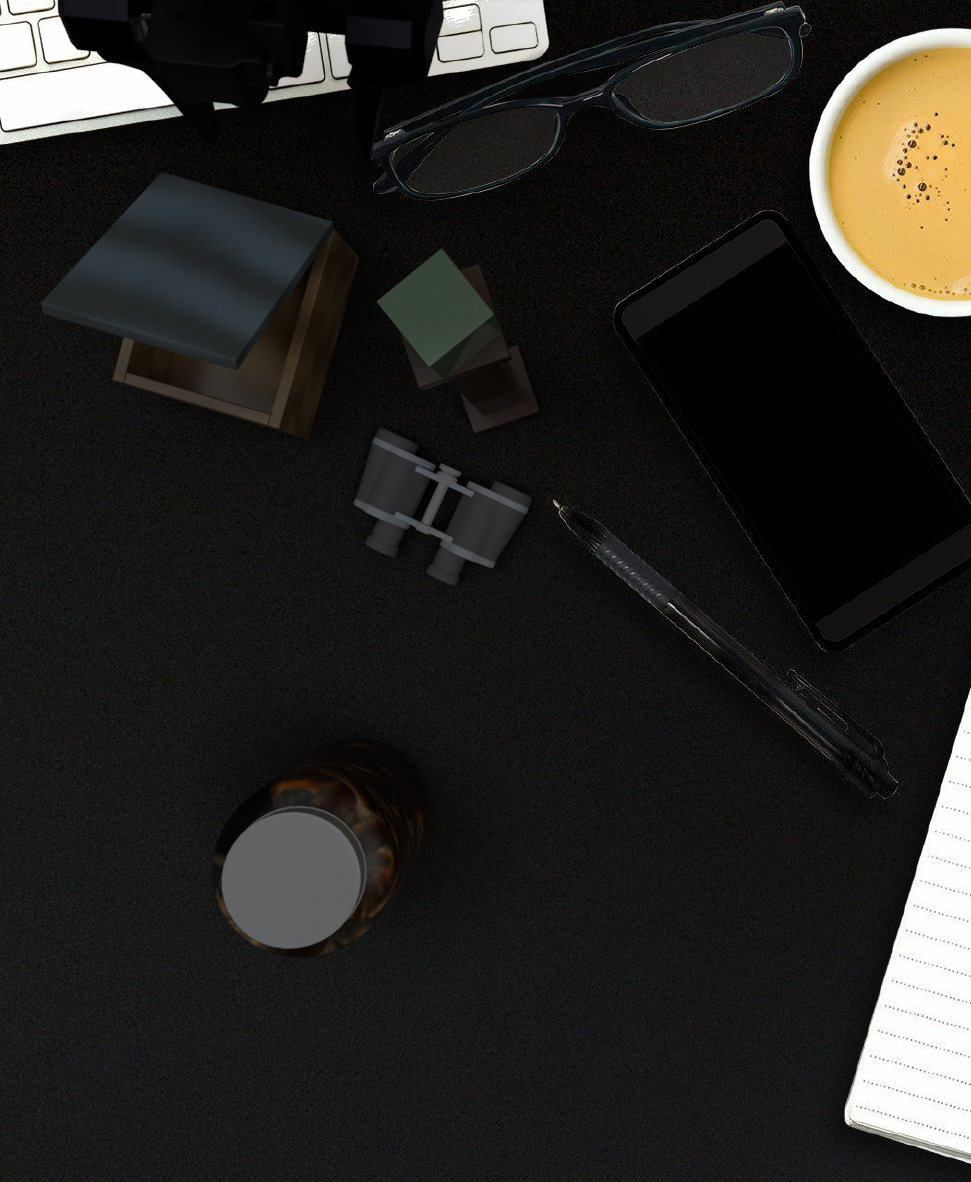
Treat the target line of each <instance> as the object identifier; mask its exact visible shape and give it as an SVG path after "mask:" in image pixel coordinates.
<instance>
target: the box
mask: <svg viewBox="0 0 971 1182" xmlns="http://www.w3.org/2000/svg"><path fill="white" fill-rule="evenodd" d="M359 262H360V256H359V255H358V254H357V253H356V252H355V251H354V250H353V248H351V246H350V245H349V244H348V243H347V242H346V240H345V239H344V238H343V237H342V235H341V234H340V233H339V232H338V231H337V230H336V229H335V228H333V232H332V234H331V235H330V237H329V238H328V240H327V241H326V243H325V244H324V245H323V247H322V248H321V250H320V251H319V253H318V254H317V256H316V257H315V258H314V260H313V261H312V263H311V264H310V266H309V267H308V269H307V270H306V271H305V273H304V274H303V276H302V277H301V279H300V280H299V282H298V283H297V284H296V286H295V287H294V289H293V290H292V292H291V293H290V295H289V296H288V298H287V299H286V300H285V302H284V303H283V305H282V306H281V308H280V309H279V311H278V312H277V313H276V315H275V316H274V318H273V319H272V321H271V322H270V324H269V325H268V326H267V328H266V329H265V331H264V332H263V334H262V335H261V337H260V338H259V339H258V341H257V342H256V344H255V345H254V347H253V348H252V350H251V351H250V352H249V354H248V355H247V357H246V358H245V360H244V361H243V363H242V364H241V365H240V367H239V368H238V370H234V369H230V368H227V367H223V366H220V365H217V364H213V363H210V362H206V361H203V360H200V359H196V358H193V357H189V356H186V355H182V354H179V353H176V352H172V351H169V350H165V349H162V348H159V347H155V346H152V345H148V344H145V343H142V342H138V341H135V340H131V339H128V338H125V337H122V342H121V346H120V349H119V353H118V357H117V360H116V364H115V368H114V371H113V375H112V378H111V379H112V381H113V382H115V383H119V384H122V385H125V386H128V387H131V388H133V389H137V390H139V391H143V392H145V393H148V394H152V395H154V396H157V397H160V398H165V399H168V400H171V401H175V402H178V403H181V404H185V405H187V406H191V407H195V408H198V409H202V410H205V411H207V412H208V411H209V412H212V413H216V414H217V415H222V416H226V417H228V418H232V419H235V420H239V421H242V422H246V423H249V424H252V425H256V426H260V427H263V428H267V429H268V430H269V429H270V430H273V431H277V432H280V433H284V434H287V435H290V436H294V437H297V438H300V439H304V440H309V439H310V436H311V433H312V430H313V426H314V422H315V420H316V419H315V418H316V414H317V411H318V408H319V404H320V401H321V397H322V393H323V390H324V386H325V383H326V379H327V376H328V372H329V368H330V365H331V362H332V359H333V354H334V351H335V347H336V345H337V340H338V336H339V333H340V329H341V326H342V322H343V319H344V315H345V312H346V308H347V304H348V301H349V298H350V295H351V291H352V287H353V283H354V279H355V276H356V273H357V270H358V269H357V268H358V265H359Z"/></svg>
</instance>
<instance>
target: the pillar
mask: <svg viewBox="0 0 971 1182" xmlns="http://www.w3.org/2000/svg"><path fill="white" fill-rule="evenodd" d="M459 270H460V272H461V273H462V274H463V275H464V277H465V278H466V279H467V280H468V282H469V283H470V284H471V285H472V287H473V288H474V289H475V290H476V292H477V293H478V294H479V295H480V297H481V298H482V299H483V300H484V302H485V303H486V304H487V305H488V307H489V308H490V309H491V310H492V312H493V313H494V315H495V317H496V319H497V321H498V323H499V324H500V326H501V327H502V325H501V322H500V319H499V315H498V314H497V310H496V307H495V303H494V302H493V298H492V295H491V293H490V290H489V286H488V284H487V280H486V277H485V274H484V272H483V268H482V266H481V264H480V263H476V264H473V265H470V266H468V267H465V268H461V269H459ZM398 331H399V334H400V337H401V338H400V339H401V340H402V343H403V347H404V349H405V353H406V355H407V358H408V361H409V364H410V366H411V370H412V373H413V376H414V379H415V382H416V384H417V387H418V389H419V390H420V391H426V390H428V389H432V388H434V387H437V386H440V385H443V384H446V383H450V384H452V386H453V387H454V388H455V389H456V390H457V391H458V393H459V395H460V398H461V401H462V404H463V407H464V409H465V412H466V415H467V418H468V421H469V424H470V427H471V429H472V433H473V434H474V436H477V435H480V434H483V433H486V432H489V431H493V430H495V429H498V428H501V427H504V426H507V425H509V424H513V423H515V422H518V421H521V420H524V419H527V418H530V417H533V416H536V415H539V414H541V413H542V412H541V408H540V405H539V403H538V400H537V396H536V393H535V391H534V387H533V385H532V382H531V379H530V376H529V373H528V370H527V367H526V363H525V361H524V359H523V355H522V352H521V349H520V347H519V345H518V344H514V345H511V346H509V345H508V343H507V340H506V337H505V334H504V331H503V332H502V333H501V334H500V335H498V336H497V337H496V338H495V339H493V340H492V341H491V342H490V343H489V344H487V345H486V346H485V347H484V348H482V349H481V350H480V351H479V352H477V353H476V354H475V355H474V356H473V357H471V358H470V359H469V360H468V361H466V362H465V363H464V364H463V365H461V366H460V367H459V368H458V369H457V370H455V371H454V372H453V373H452V374H450V375H449V376H448V377H447V378H446V379H444V380H441V379H440V378H439V377H438V376H437V375H436V374H435V373H434V372H433V371H432V370H431V369H430V368H429V367H428V365H427V364H426V363H425V362H424V360H423V359H422V358H421V357H420V355H419V354H418V353H417V352H416V350H415V349H414V348H413V347H412V345H411V344H410V343H409V342H408V340H407V339H406V338H405V337H404V335H403V334H402V333H401V332H400V330H399V329H398Z"/></svg>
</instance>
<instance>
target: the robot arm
mask: <svg viewBox="0 0 971 1182" xmlns="http://www.w3.org/2000/svg"><path fill="white" fill-rule="evenodd" d="M57 14H58V16H59V19H60V21H61V23H62V26H63V28H64V31H65V33H66V36H67V37H68V40H69V42H70V43H71V45H72V46H73V47H74V48H75V50H77V51H85V52H93V53H94V52H95V53H98V55H99V57H100V58H101V59H102V60H103V61H105V62H106V63H109V64H116V65H121V66H125V67H127V68H131V69H135V70H138V71H141V72H143V73H144V74H145V75H146V76H147V77H148V78H149V79H150V80H151V81H152V82H153V83H154V84H155V85H156V86H157V87H158V88H159V89H160V90H161V91H162V92H163V93H164V94H165V96H166V97H167V98H168V99H169V100H170V101H171V102H172V104H173V105H174V106H175V107H176V109H177V110H178V111H179V112H180V114H181V115H182V116H183V117H184V118H185V120H186V121H187V122H188V123H189V124H190V126H191V127H192V128H193V129H194V131H195V132H196V133H197V134H198V135H199V136H200V138H201V139H202V140H203V142H204V143H205V145H209V146H215V145H216V143H217V141H218V138H219V135H220V134H219V127H218V120H217V115H216V114H217V113H216V108H215V105H214V103H215V104H225V105H233V106H235V107H236V108H241V109H252V108H255V107H258V106H260V105H262V103H264V102H265V101H266V99H267V97H268V95H269V93H270V87H271V88H277V87H278V86H279V84H280V83H279V82H280V80H281V79H284V78H292V79H298V78H300V77H301V76H302V75H303V72H304V68H305V67H304V66H305V60H306V56H307V55H306V54H307V48H308V42H309V33H316V34H327V35H334V36H335V35H337V36H344V48H345V54H346V60H347V64H349V65H350V66H351V67H350V70H349V73H348V76H347V79H346V85H347V86H348V87H349V88H350V89H351V90H352V92H353V101H354V110H355V123H356V134H357V143H358V147H359V148H358V149H359V151H360V154H361V158H362V160H363V161H370V160H371V158H372V155H373V152H374V147H375V141H376V136H377V133H378V128H379V122H380V119H381V112H382V110H383V109H382V108H383V103H384V99H385V95H386V91H392V92H396V91H400V90H402V89H403V88H405V86H406V85H407V83H411V84H416V83H418V82H420V81H422V80H424V79H427V78H428V76H429V73H430V70H431V66H432V62H433V60H434V59H433V58H434V55H435V52H436V49H437V45H438V41H439V37H440V36H441V35H440V34H441V31H442V28H443V23H444V20H445V12H444V0H57Z"/></svg>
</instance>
